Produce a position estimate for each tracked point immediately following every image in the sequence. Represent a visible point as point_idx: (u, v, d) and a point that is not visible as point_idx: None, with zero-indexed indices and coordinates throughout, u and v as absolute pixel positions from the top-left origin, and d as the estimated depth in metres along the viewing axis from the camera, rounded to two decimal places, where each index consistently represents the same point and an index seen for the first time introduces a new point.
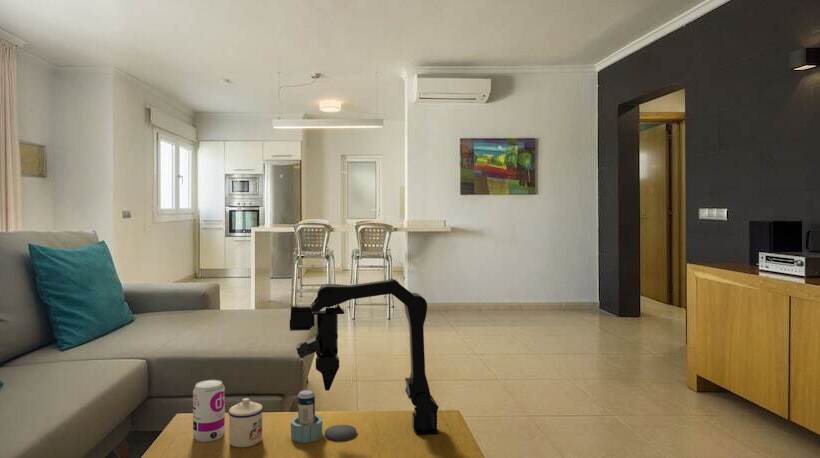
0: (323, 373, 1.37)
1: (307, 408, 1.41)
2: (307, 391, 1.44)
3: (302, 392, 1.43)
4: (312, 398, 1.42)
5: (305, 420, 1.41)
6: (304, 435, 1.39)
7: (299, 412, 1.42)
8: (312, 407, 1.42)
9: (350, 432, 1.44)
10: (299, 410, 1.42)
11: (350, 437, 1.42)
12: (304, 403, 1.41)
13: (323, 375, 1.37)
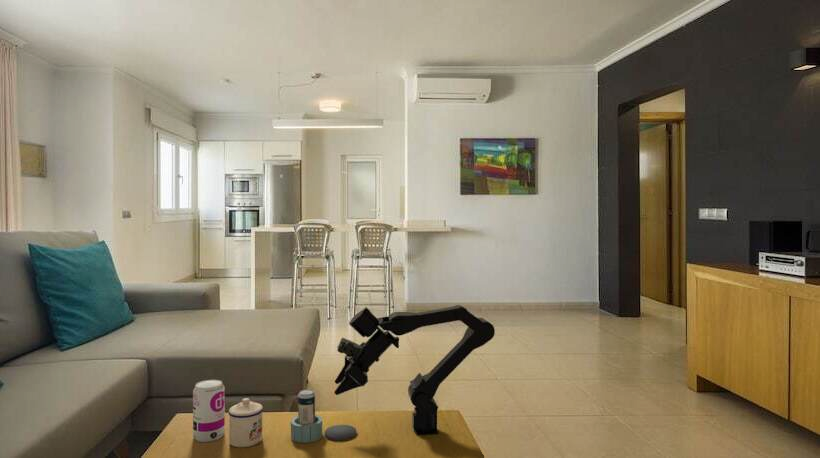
0: (346, 379, 1.38)
1: (307, 408, 1.41)
2: (307, 391, 1.44)
3: (302, 392, 1.43)
4: (312, 398, 1.42)
5: (305, 420, 1.41)
6: (304, 435, 1.39)
7: (299, 412, 1.42)
8: (312, 407, 1.42)
9: (350, 432, 1.44)
10: (299, 410, 1.42)
11: (350, 437, 1.42)
12: (304, 403, 1.41)
13: (345, 380, 1.38)
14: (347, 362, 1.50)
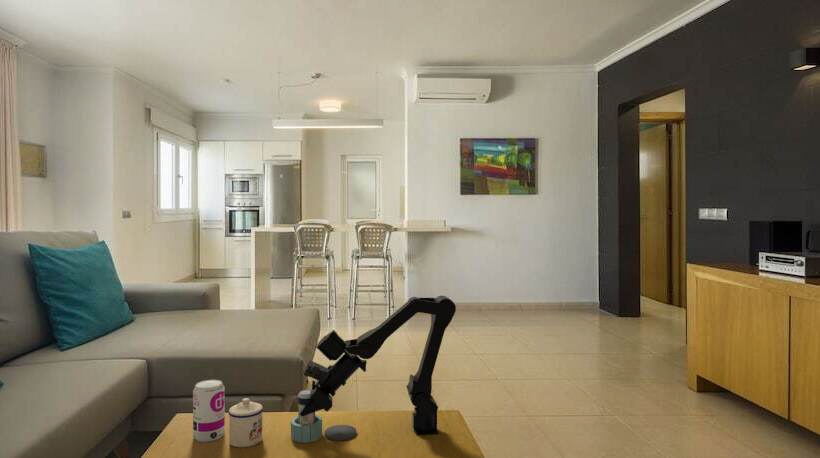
0: (311, 401, 1.39)
1: None
2: (307, 391, 1.44)
3: (302, 392, 1.43)
4: None
5: (305, 420, 1.41)
6: (304, 435, 1.39)
7: (299, 412, 1.42)
8: None
9: (350, 432, 1.44)
10: (299, 410, 1.42)
11: (350, 437, 1.42)
12: (304, 403, 1.41)
13: (310, 402, 1.39)
14: (314, 387, 1.46)
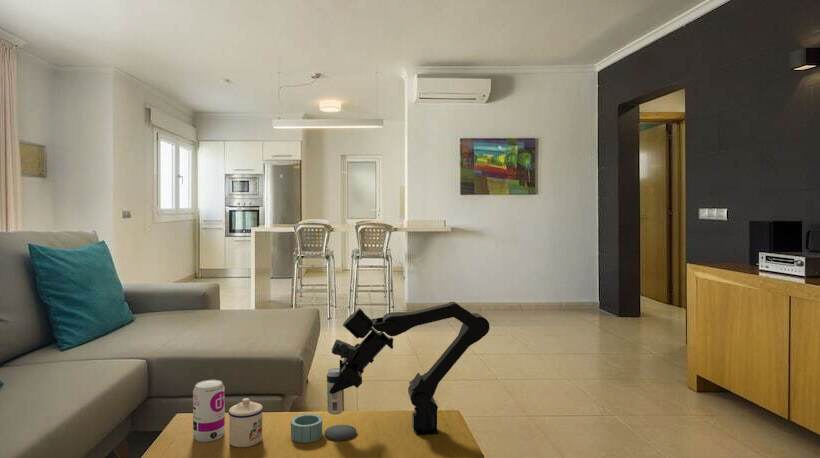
0: (340, 378, 1.40)
1: None
2: (335, 370, 1.45)
3: (330, 370, 1.44)
4: None
5: (334, 398, 1.42)
6: (304, 435, 1.39)
7: (328, 390, 1.43)
8: None
9: (350, 432, 1.44)
10: (328, 388, 1.43)
11: (350, 437, 1.42)
12: (333, 381, 1.42)
13: (339, 380, 1.40)
14: (342, 366, 1.48)
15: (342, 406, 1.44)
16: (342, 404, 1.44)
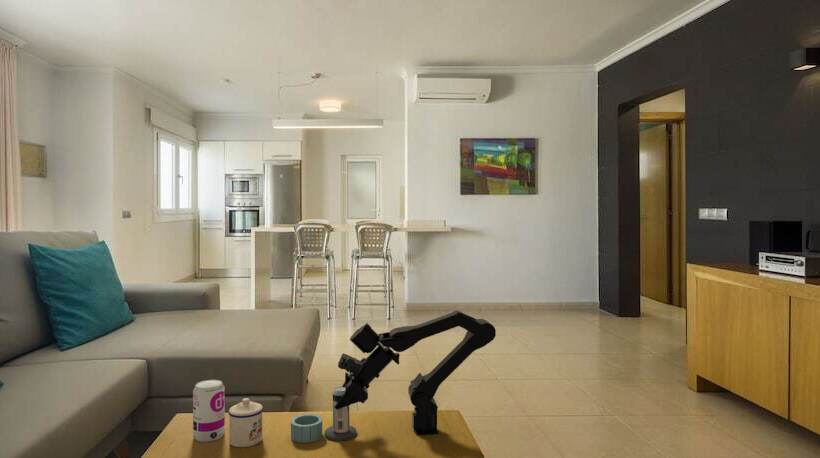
0: (346, 394, 1.40)
1: None
2: (341, 389, 1.45)
3: (336, 389, 1.45)
4: None
5: (340, 417, 1.43)
6: (304, 435, 1.39)
7: (334, 409, 1.43)
8: None
9: (350, 432, 1.44)
10: (334, 407, 1.43)
11: (350, 437, 1.42)
12: None
13: (345, 395, 1.40)
14: (347, 378, 1.49)
15: (347, 425, 1.44)
16: (347, 423, 1.44)
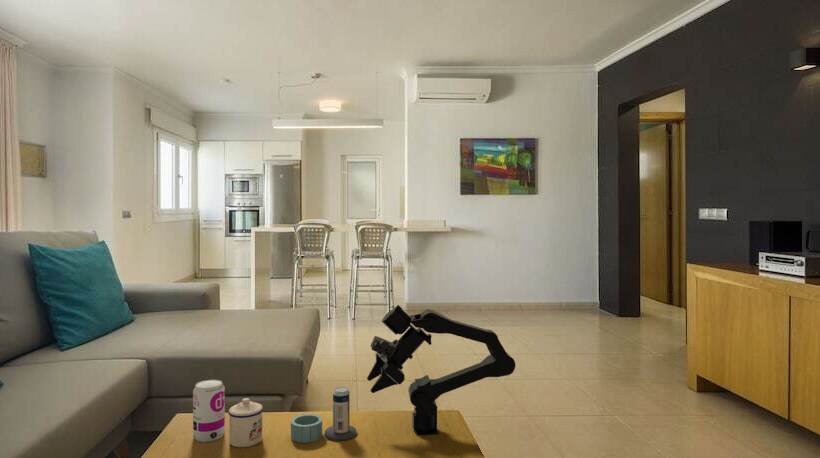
0: (382, 377, 1.40)
1: (342, 405, 1.43)
2: (341, 389, 1.45)
3: (337, 390, 1.45)
4: (347, 395, 1.43)
5: (340, 417, 1.43)
6: (304, 435, 1.39)
7: (334, 409, 1.43)
8: (347, 404, 1.44)
9: (350, 432, 1.44)
10: (334, 407, 1.43)
11: (350, 437, 1.42)
12: (339, 400, 1.42)
13: (381, 379, 1.40)
14: (379, 359, 1.51)
15: (347, 425, 1.44)
16: (348, 423, 1.44)
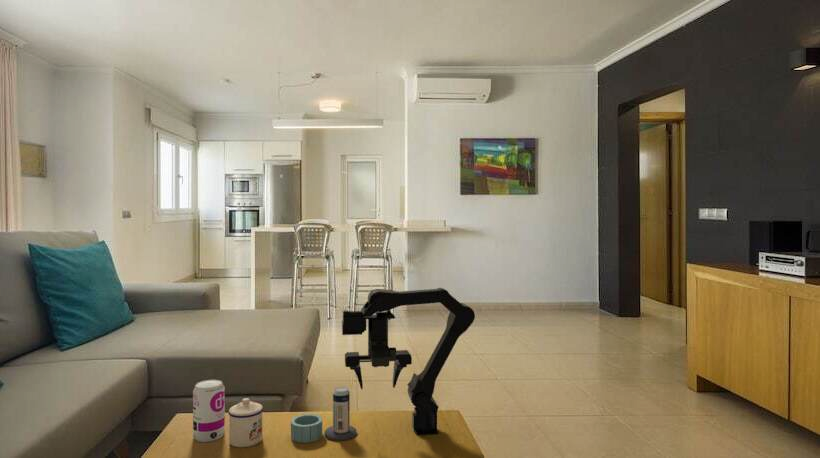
0: None
1: (342, 405, 1.43)
2: (341, 389, 1.45)
3: (337, 389, 1.45)
4: (347, 395, 1.44)
5: (340, 417, 1.43)
6: (304, 435, 1.39)
7: (334, 409, 1.43)
8: (347, 404, 1.44)
9: (350, 432, 1.44)
10: (334, 407, 1.43)
11: (350, 437, 1.42)
12: (339, 400, 1.43)
13: None
14: (360, 368, 1.43)
15: (348, 425, 1.44)
16: (348, 423, 1.44)
